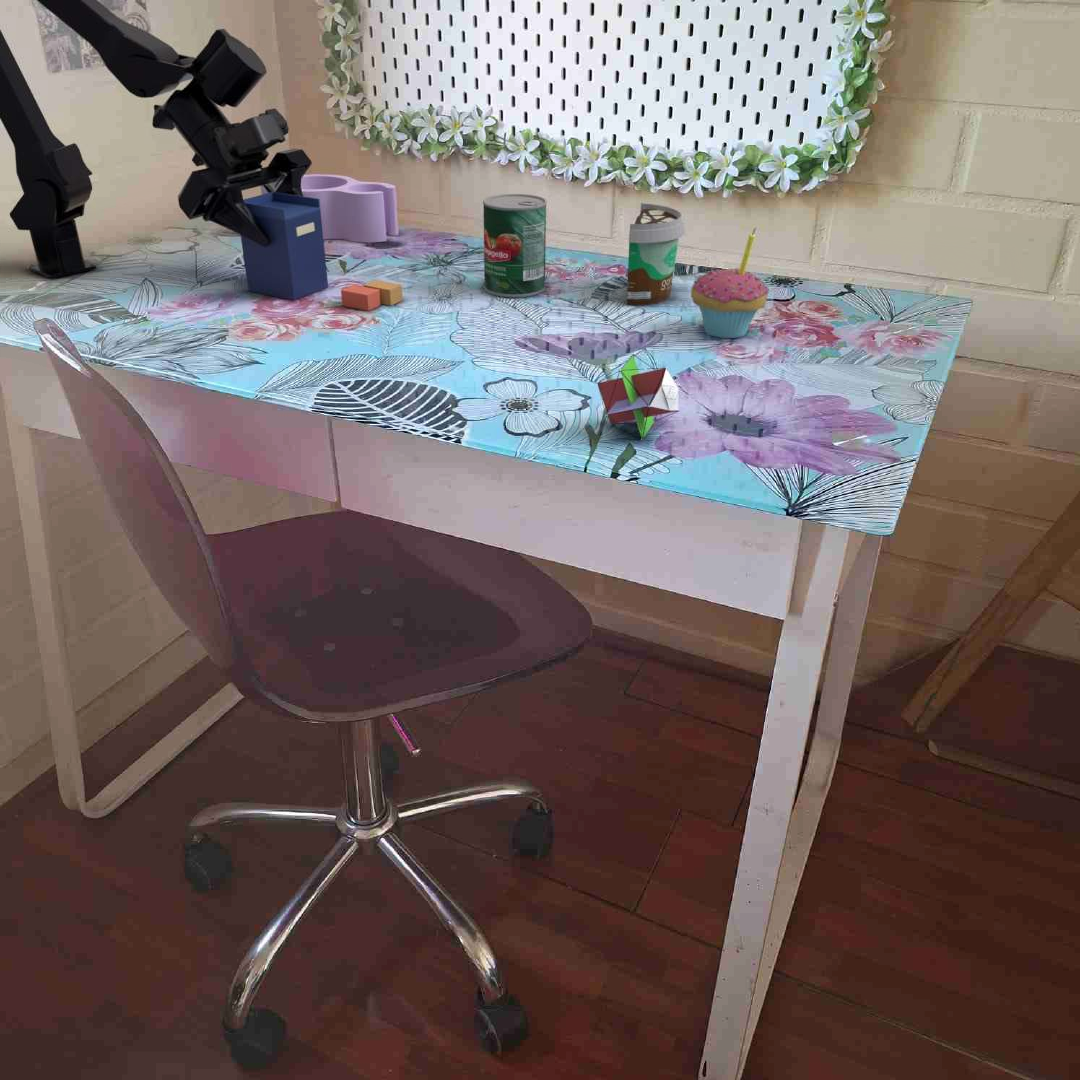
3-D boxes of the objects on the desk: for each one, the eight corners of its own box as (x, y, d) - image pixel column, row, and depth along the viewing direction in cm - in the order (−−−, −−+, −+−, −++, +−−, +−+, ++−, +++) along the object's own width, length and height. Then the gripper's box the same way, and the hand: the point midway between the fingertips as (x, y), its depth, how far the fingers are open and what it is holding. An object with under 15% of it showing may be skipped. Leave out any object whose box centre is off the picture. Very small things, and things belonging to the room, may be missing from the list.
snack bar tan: (389, 289, 120) (391, 306, 121) (401, 284, 122) (402, 300, 123) (363, 284, 121) (364, 300, 122) (375, 279, 123) (376, 295, 124)
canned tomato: (474, 293, 125) (472, 204, 120) (498, 276, 132) (497, 191, 126) (533, 300, 123) (533, 210, 117) (554, 283, 129) (555, 196, 124)
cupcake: (767, 324, 116) (781, 220, 110) (756, 348, 109) (770, 238, 103) (695, 316, 118) (704, 214, 112) (680, 339, 112) (689, 231, 105)
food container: (675, 312, 120) (682, 228, 115) (624, 308, 121) (629, 224, 116) (683, 283, 130) (689, 204, 125) (636, 279, 131) (641, 202, 126)
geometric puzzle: (569, 412, 88) (625, 352, 84) (593, 385, 94) (647, 327, 89) (628, 466, 89) (686, 409, 84) (648, 436, 95) (704, 381, 90)
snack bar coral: (367, 294, 118) (368, 311, 119) (379, 289, 120) (380, 305, 121) (340, 289, 119) (342, 306, 120) (353, 284, 121) (354, 300, 122)
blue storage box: (248, 291, 125) (235, 201, 119) (283, 278, 130) (272, 191, 124) (295, 300, 122) (284, 209, 116) (329, 287, 127) (320, 198, 121)
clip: (411, 228, 153) (408, 182, 150) (371, 247, 143) (367, 198, 140) (301, 216, 159) (296, 171, 156) (255, 233, 150) (249, 186, 146)
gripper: (177, 95, 109) (267, 210, 110) (291, 79, 123) (370, 181, 124) (141, 163, 116) (225, 271, 117) (252, 140, 130) (326, 236, 131)
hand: (290, 237), depth 122 cm, fingers open, 8 cm apart
